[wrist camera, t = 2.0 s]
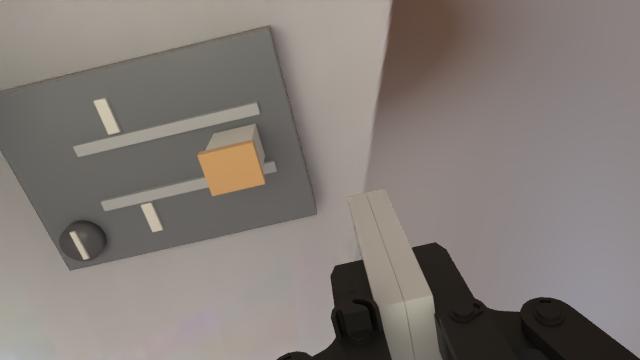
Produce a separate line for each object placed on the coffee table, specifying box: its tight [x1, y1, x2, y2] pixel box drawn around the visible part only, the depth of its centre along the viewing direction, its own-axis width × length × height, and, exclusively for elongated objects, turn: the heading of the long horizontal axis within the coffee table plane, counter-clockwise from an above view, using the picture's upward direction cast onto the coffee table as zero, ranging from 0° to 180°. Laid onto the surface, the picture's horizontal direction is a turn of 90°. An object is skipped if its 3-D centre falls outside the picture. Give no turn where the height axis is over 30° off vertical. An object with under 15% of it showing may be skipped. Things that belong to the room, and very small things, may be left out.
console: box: [0, 25, 317, 271], centre depth 32 cm, size 20×14×3 cm
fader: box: [197, 124, 266, 196], centre depth 29 cm, size 3×3×5 cm
